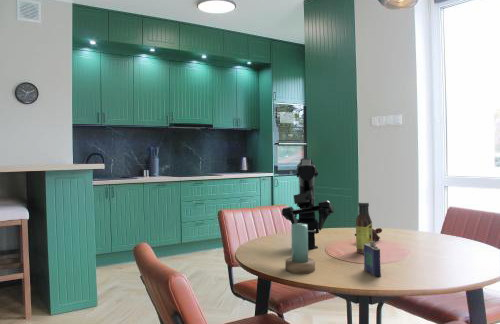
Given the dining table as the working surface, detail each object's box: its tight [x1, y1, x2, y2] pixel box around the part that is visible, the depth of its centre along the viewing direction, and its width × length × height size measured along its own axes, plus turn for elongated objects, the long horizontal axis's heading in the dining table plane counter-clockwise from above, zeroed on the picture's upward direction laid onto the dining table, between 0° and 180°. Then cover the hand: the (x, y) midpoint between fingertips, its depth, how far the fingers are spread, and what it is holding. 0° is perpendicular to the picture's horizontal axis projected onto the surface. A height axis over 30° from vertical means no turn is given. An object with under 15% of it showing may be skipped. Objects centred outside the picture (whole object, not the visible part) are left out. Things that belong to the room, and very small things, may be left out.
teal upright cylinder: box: [290, 223, 309, 263], centre depth 136 cm, size 6×6×12 cm
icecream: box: [354, 227, 383, 241], centre depth 178 cm, size 7×7×15 cm
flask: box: [363, 240, 382, 278], centre depth 131 cm, size 9×3×11 cm, turn 8°
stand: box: [284, 257, 316, 275], centre depth 136 cm, size 10×10×3 cm
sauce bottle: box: [355, 201, 373, 254], centre depth 159 cm, size 7×6×20 cm
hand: (307, 231), depth 145 cm, fingers open, 9 cm apart
